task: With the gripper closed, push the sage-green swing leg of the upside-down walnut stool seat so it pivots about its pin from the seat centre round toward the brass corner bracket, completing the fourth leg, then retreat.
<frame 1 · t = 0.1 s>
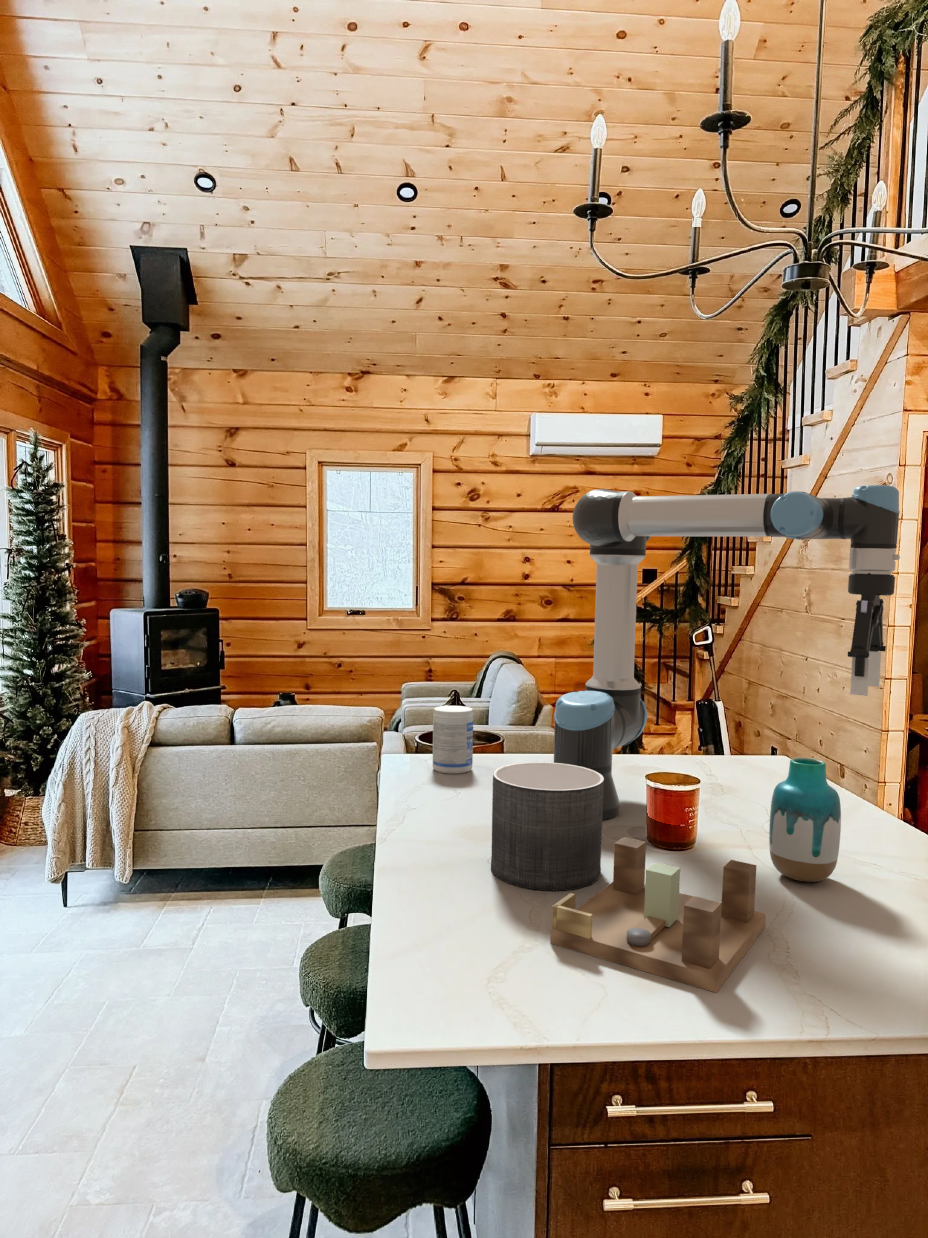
hand: (865, 690, 155), 28 cm above the kitchen island, fingers open, 13 cm apart
vase: (801, 879, 138), on the kitchen island
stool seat: (660, 935, 116), on the kitchen island
planter: (545, 872, 139), on the kitchen island
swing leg: (651, 903, 112), point 6 cm above the kitchen island, hinge at 0.0°
supplement tub: (452, 770, 203), on the kitchen island
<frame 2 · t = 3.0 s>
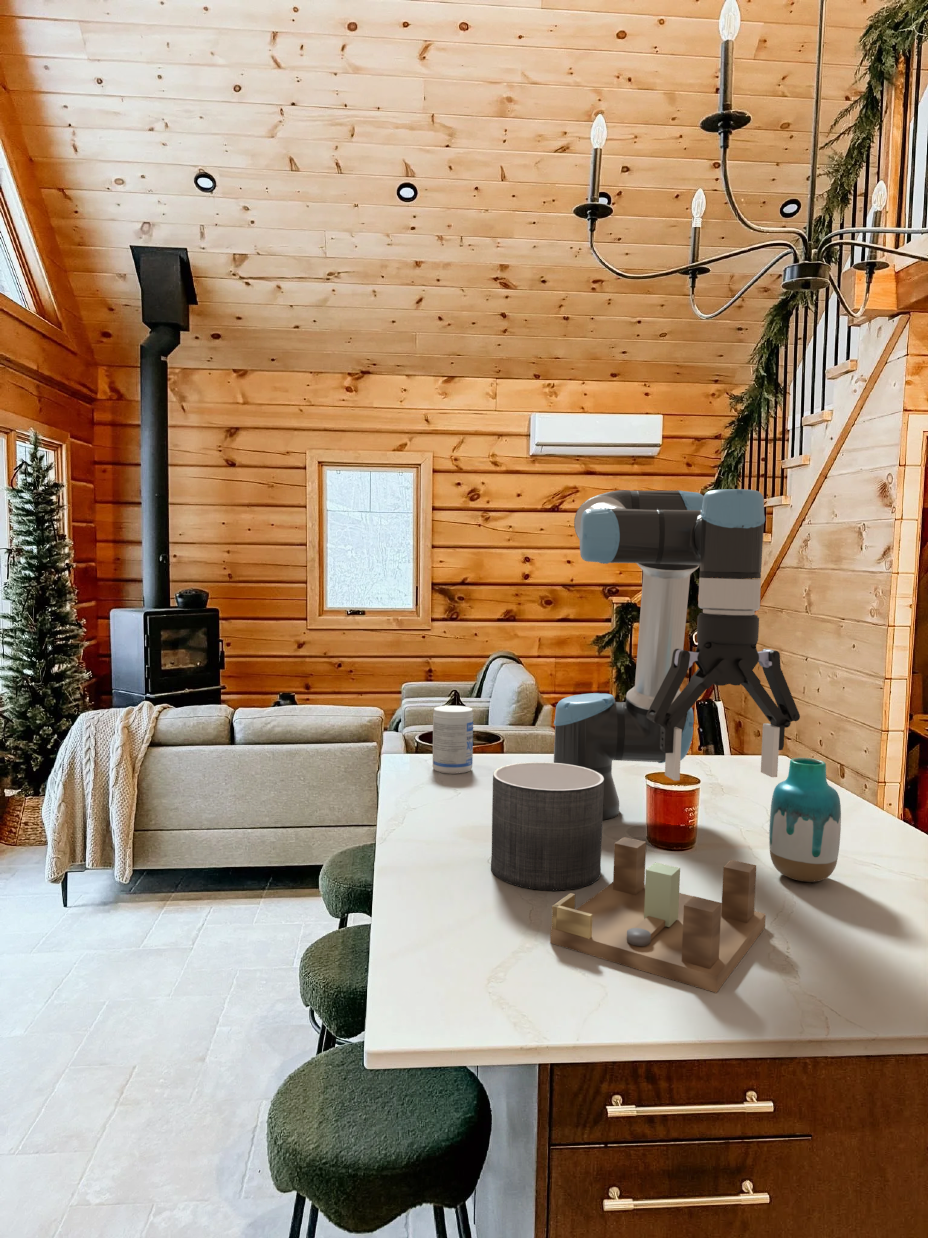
hand: (721, 776, 110), 23 cm above the kitchen island, fingers open, 13 cm apart
nothing on the kitchen island moved.
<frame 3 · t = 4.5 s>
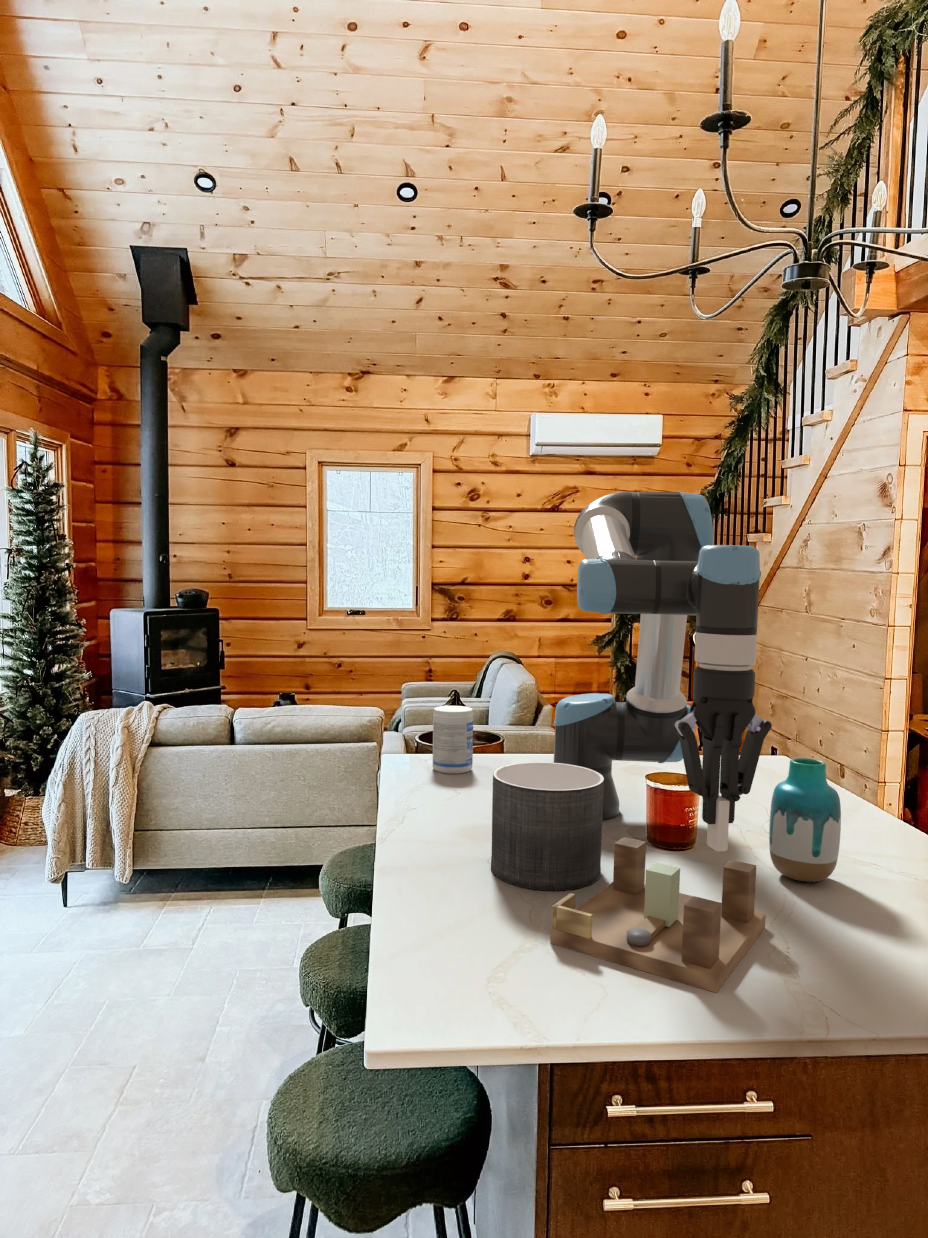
hand: (716, 847, 111), 14 cm above the kitchen island, fingers closed
nothing on the kitchen island moved.
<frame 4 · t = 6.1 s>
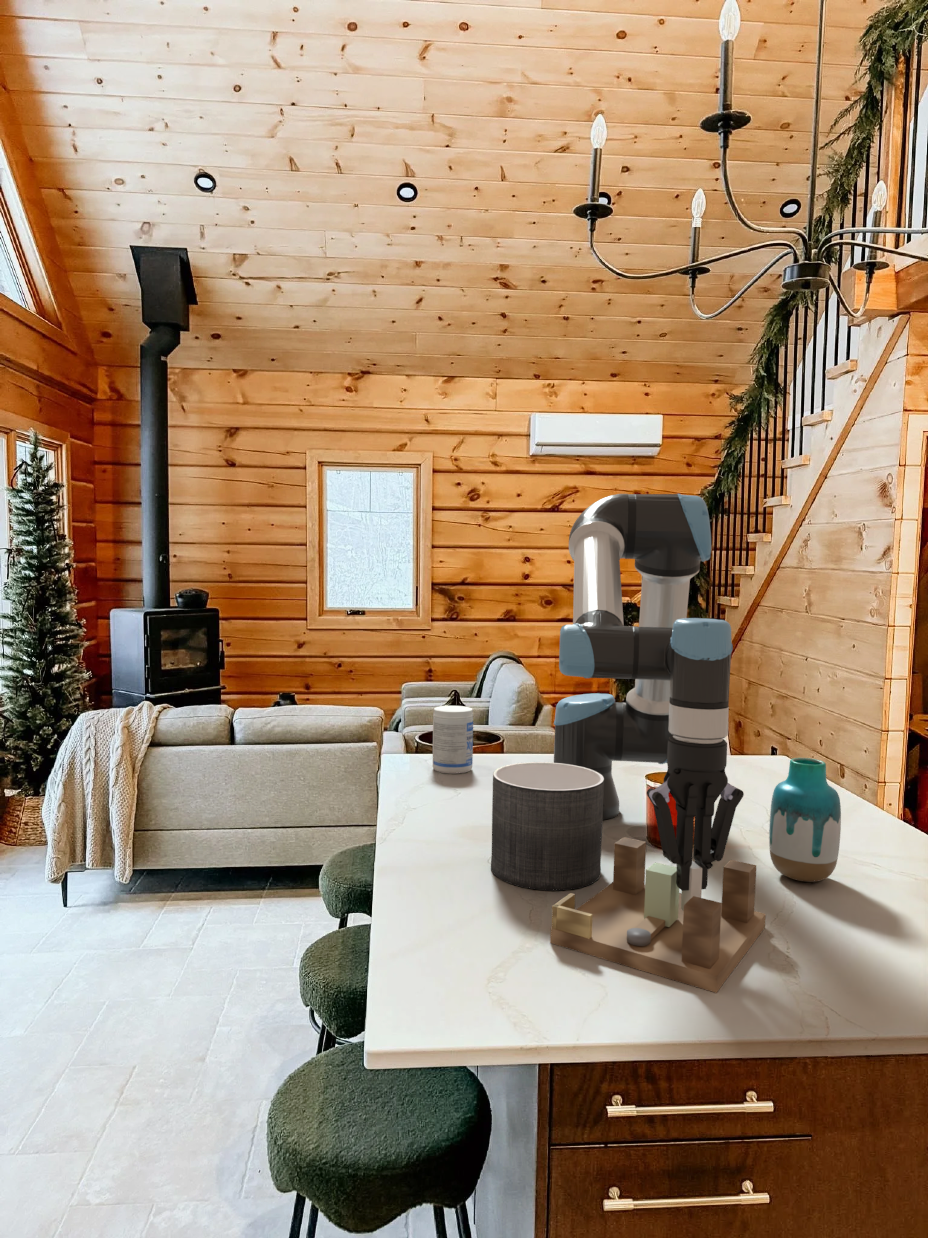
hand: (690, 912, 113), 4 cm above the kitchen island, fingers closed
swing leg: (651, 903, 112), point 6 cm above the kitchen island, hinge at 0.0°, touching gripper
everything else where it was.
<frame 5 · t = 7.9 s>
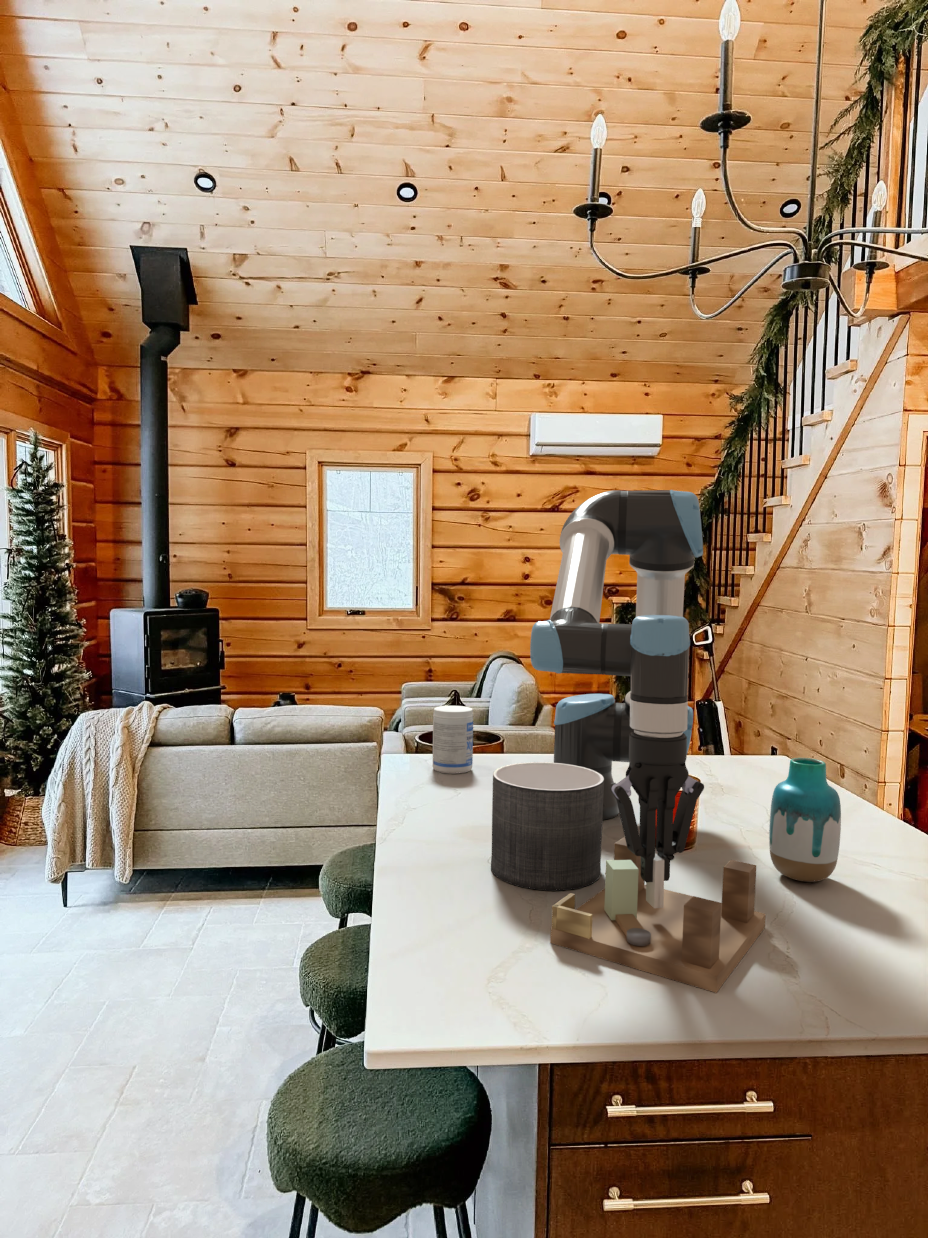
hand: (654, 904, 116), 4 cm above the kitchen island, fingers closed
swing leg: (629, 901, 113), point 6 cm above the kitchen island, hinge at 39.8°, touching gripper
everything else where it was.
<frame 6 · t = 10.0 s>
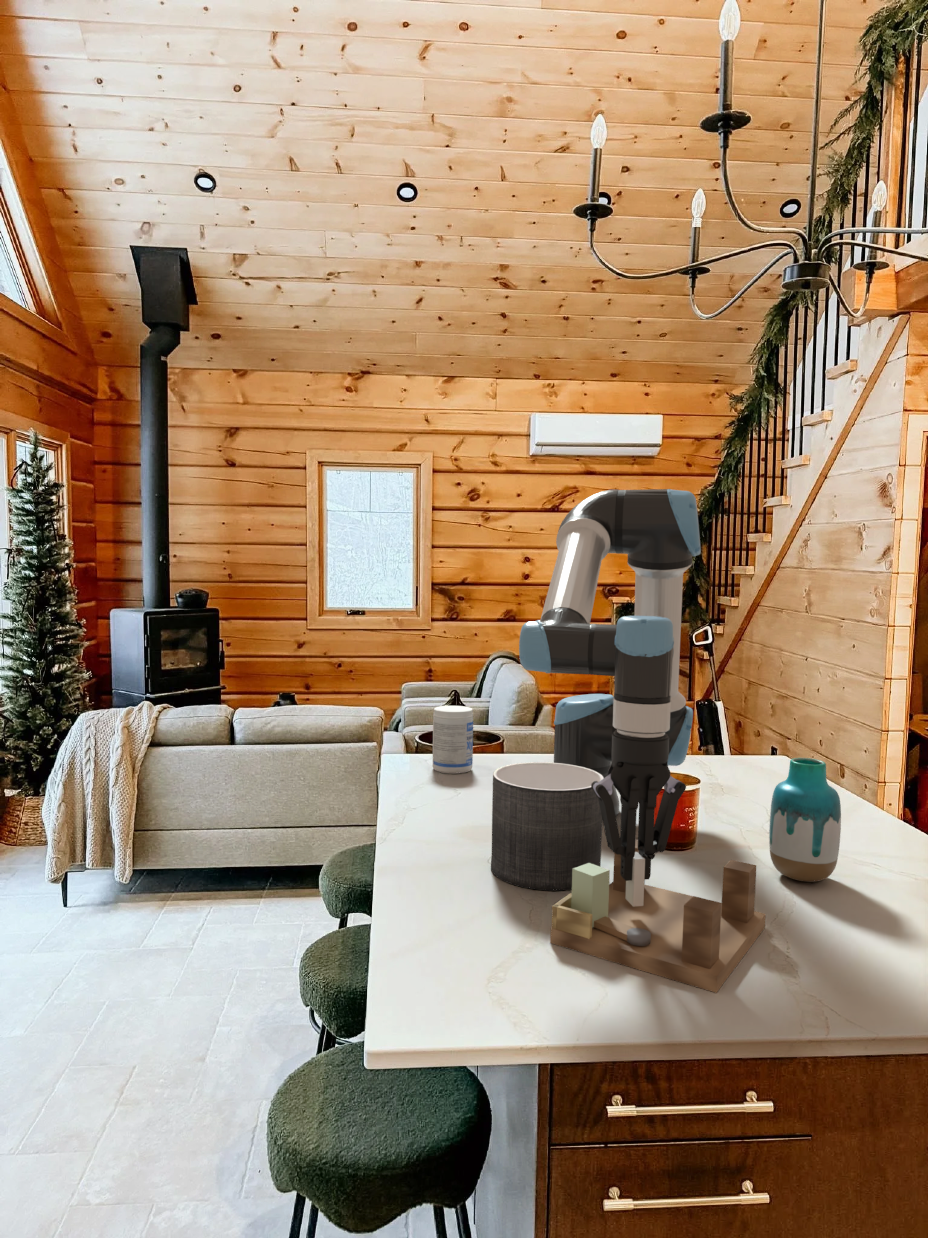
hand: (634, 902, 117), 4 cm above the kitchen island, fingers closed
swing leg: (613, 904, 112), point 6 cm above the kitchen island, hinge at 76.1°
everything else where it was.
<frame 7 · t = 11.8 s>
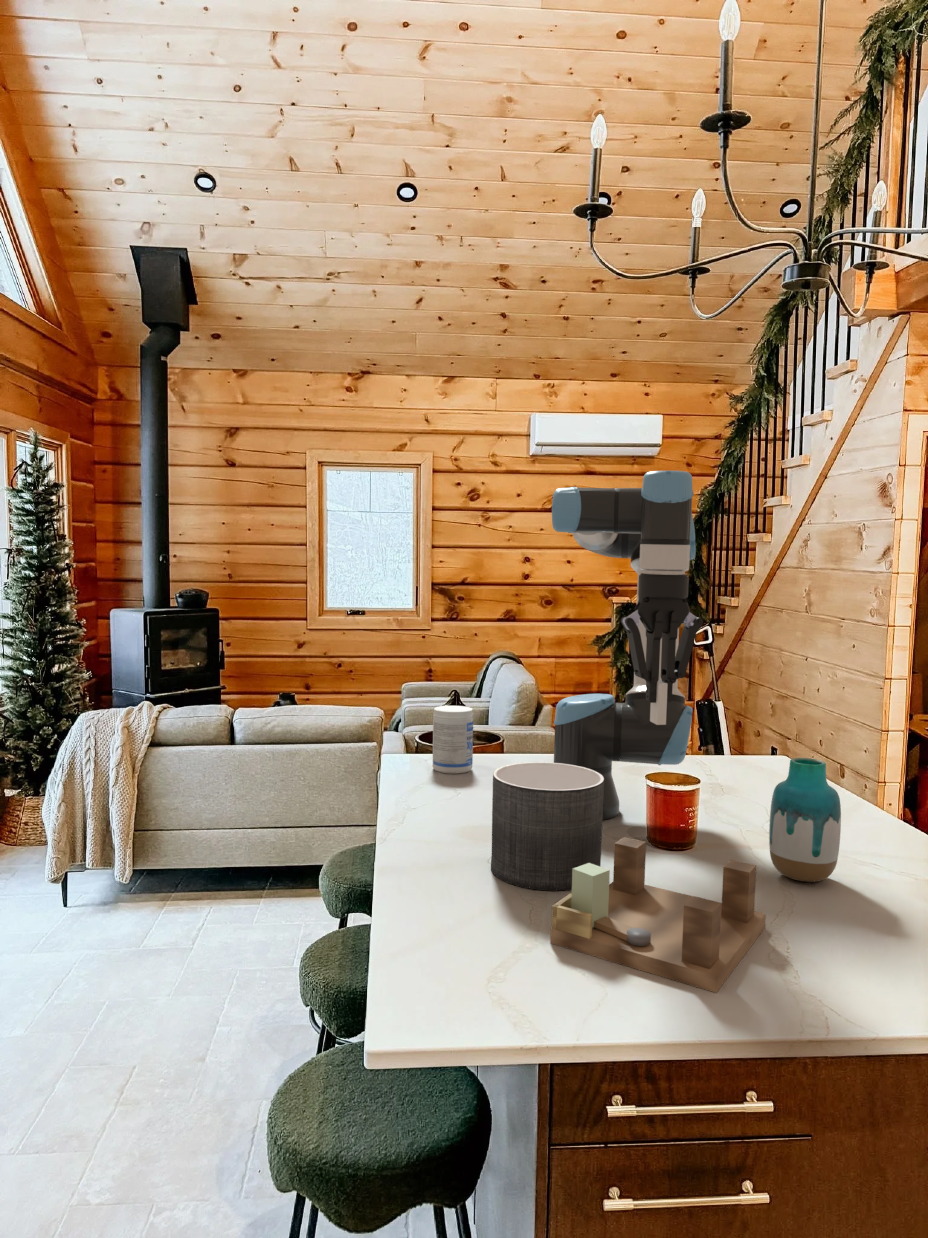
hand: (657, 722, 134), 25 cm above the kitchen island, fingers closed
nothing on the kitchen island moved.
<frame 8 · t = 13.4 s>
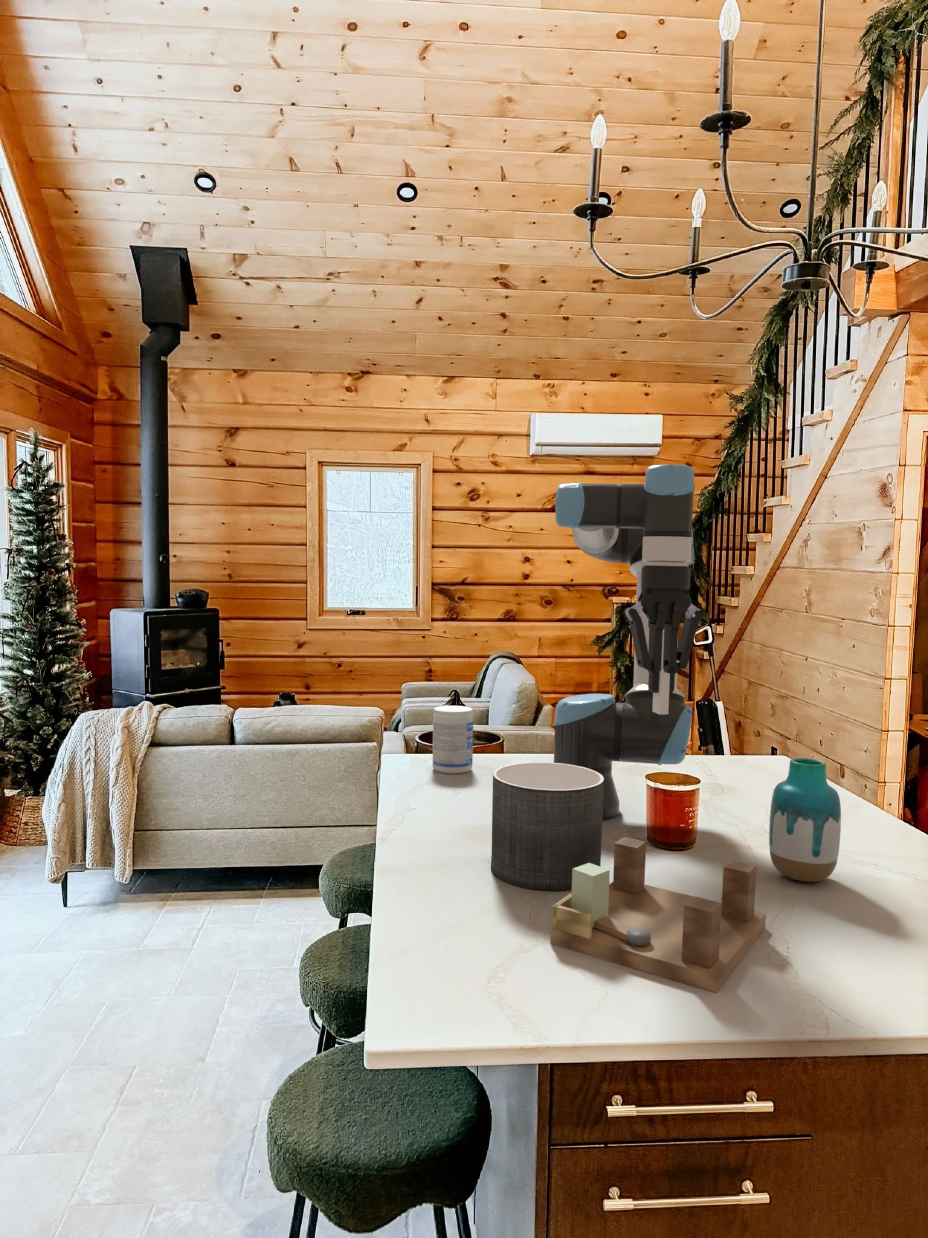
hand: (660, 712, 136), 26 cm above the kitchen island, fingers closed
nothing on the kitchen island moved.
at the end: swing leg at +76° (first picture: +0°); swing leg touching nothing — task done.
